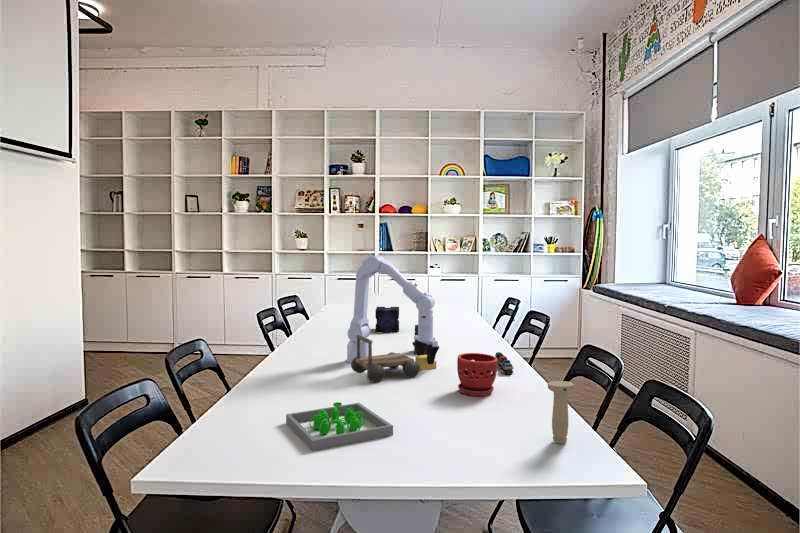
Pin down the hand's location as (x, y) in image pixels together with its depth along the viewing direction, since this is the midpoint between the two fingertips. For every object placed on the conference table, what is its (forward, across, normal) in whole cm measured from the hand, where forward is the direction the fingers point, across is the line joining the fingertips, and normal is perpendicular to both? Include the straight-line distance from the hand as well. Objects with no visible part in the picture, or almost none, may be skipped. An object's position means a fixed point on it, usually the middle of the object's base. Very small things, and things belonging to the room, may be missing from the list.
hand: (425, 361), depth 215 cm
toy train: (+3, -14, -27) cm, 30 cm away
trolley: (+2, -1, +18) cm, 18 cm away
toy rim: (+2, -45, +54) cm, 70 cm away
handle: (+3, -80, +8) cm, 80 cm away
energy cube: (+3, +78, -23) cm, 81 cm away
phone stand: (+3, +25, -13) cm, 28 cm away
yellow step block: (+3, 0, 0) cm, 3 cm away
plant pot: (+3, -35, +1) cm, 35 cm away
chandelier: (+3, -44, +54) cm, 70 cm away
